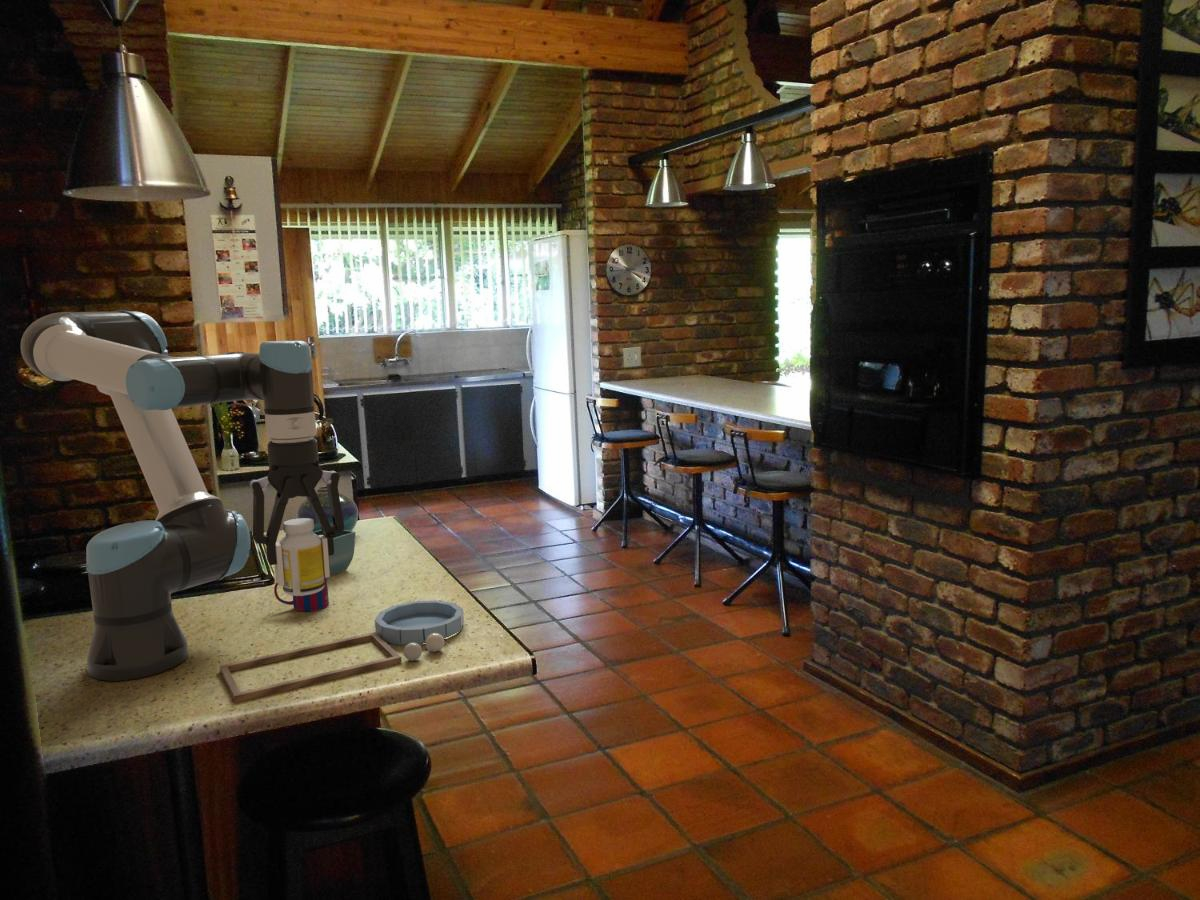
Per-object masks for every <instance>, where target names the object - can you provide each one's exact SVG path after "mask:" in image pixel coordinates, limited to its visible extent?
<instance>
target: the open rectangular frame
mask: <svg viewBox="0 0 1200 900" xmlns="http://www.w3.org/2000/svg"><path fill="white" fill-rule="evenodd" d="M370 641H372V642H373V643H374V644H375V645H376V646H377V647H378V648H379V649H380V650H381V651H382V652H383V653H384V654H385V655H386V656H387V658H382V659H378V660H374V661H369V662H363V663H359V664H356V665H351V666H347V667H344V668H339V669H335V670H329V671H326V672H322V673H317V674H313V675H308V676H304V677H300V678H297V679H292V680H288V681H287V680H286V681H284V682H279V683H275V684H269V685H266V686H261V687H256V688H253V689H248V690H244V691H240V689H239V687H238V684H237V683H236V681H235V679H234V676H233V675H232V672H234V671H238V670H243V669H248V668H253V667H257V666H262V665H266V664H271V663H274V662H280V661H285V660H289V659H293V658H299V657H303V656H307V655H313V654H316V653H320V652H321V653H322V652H325V651H330V650H334V649H339V648H344V647H349V646H352V645H358V644H361V643H365V642H370ZM388 656H389V657H390V658H389V657H388ZM402 660H403V659H402V656H401V655H400V654H399V653H398V652H397V651H395V649H394V648H393V647H392V646H390V645H389V643H386V642H385V641H384V640H383V639H382V638H381V637H380V636H379V635H378V634H377V633H376V631H375V632H370V633H366V634H359V635H356V636H351V637H346V638H342V639H337V640H332V641H328V642H323V643H319V644H314V645H309V646H306V647H300V648H295V649H291V650H287V651H286V650H285V651H282V652H277V653H273V654H267V655H264V656H258V657H255V658H249V659H245V660H240V661H236V662H231V663H226V664H222V665H219V670H220V674H221V676H222V678H223V680H224V682H225V684H226V686H227V688H228V690H229V692H230V695H231V697H232V699H233V701H234V703H239V702H243V701H246V700H251V699H252V700H253V699H256V698H260V697H264V696H267V695H273V694H276V693H281V692H285V691H290V690H292V689H298V688H301V687H306V686H310V685H314V684H319V683H323V682H327V681H331V680H335V679H339V678H344V677H349V676H353V675H356V674H357V675H358V674H360V673H365V672H369V671H373V669H374V670H377V668H378V669H381V668H385V666H387V667H390V666H389V665H391V666H394V665H393V664H395V665H397V664H396V663H399V664H401V663H400V662H403V661H402Z"/></svg>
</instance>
